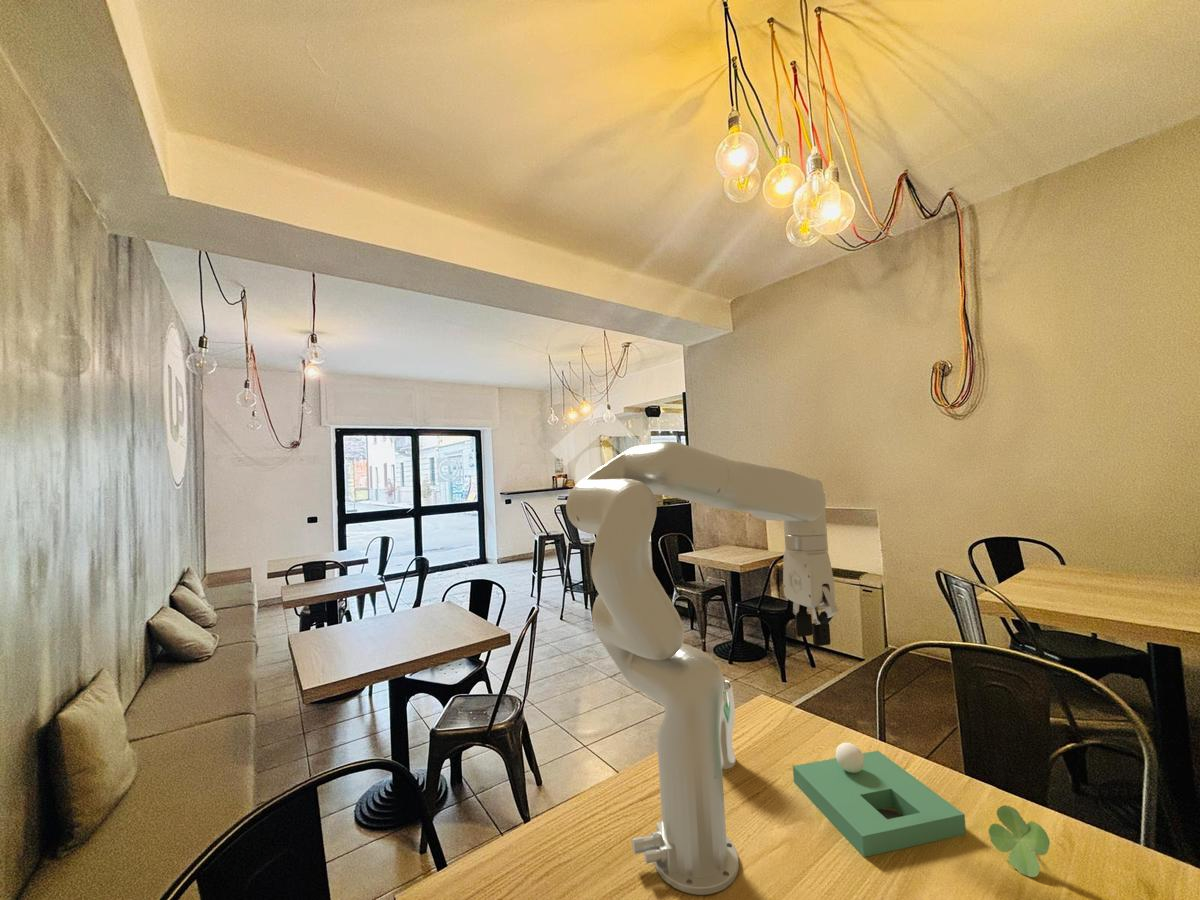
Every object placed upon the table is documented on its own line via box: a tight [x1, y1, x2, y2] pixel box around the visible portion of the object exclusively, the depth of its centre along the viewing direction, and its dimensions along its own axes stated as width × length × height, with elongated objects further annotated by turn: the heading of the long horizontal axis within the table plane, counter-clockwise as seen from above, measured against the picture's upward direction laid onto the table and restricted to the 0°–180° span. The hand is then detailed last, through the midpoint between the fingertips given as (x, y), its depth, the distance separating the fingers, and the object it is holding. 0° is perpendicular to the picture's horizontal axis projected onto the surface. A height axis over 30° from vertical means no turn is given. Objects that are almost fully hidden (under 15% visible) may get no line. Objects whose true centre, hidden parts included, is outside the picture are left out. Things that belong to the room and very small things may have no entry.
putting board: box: [792, 750, 967, 858], centre depth 83 cm, size 18×18×3 cm
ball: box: [835, 742, 864, 773], centre depth 88 cm, size 5×5×5 cm
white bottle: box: [720, 678, 736, 770], centre depth 98 cm, size 7×7×15 cm
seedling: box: [988, 804, 1051, 878], centre depth 71 cm, size 7×8×6 cm
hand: (813, 639), depth 92 cm, fingers open, 4 cm apart
